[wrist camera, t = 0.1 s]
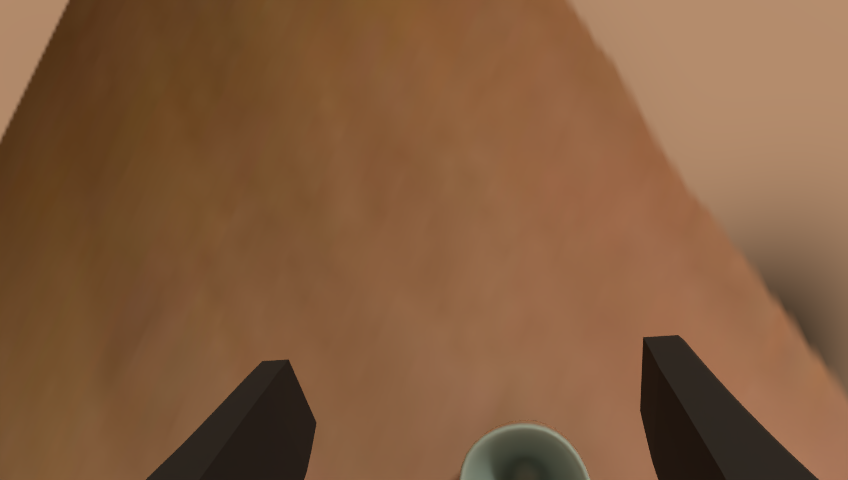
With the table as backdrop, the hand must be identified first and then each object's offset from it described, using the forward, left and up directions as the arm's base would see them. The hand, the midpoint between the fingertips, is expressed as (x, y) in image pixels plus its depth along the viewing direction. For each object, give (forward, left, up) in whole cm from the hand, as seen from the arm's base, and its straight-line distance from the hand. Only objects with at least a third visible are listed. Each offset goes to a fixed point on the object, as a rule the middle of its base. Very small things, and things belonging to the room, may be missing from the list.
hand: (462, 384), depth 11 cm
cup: (-6, 0, -32) cm, 33 cm away
